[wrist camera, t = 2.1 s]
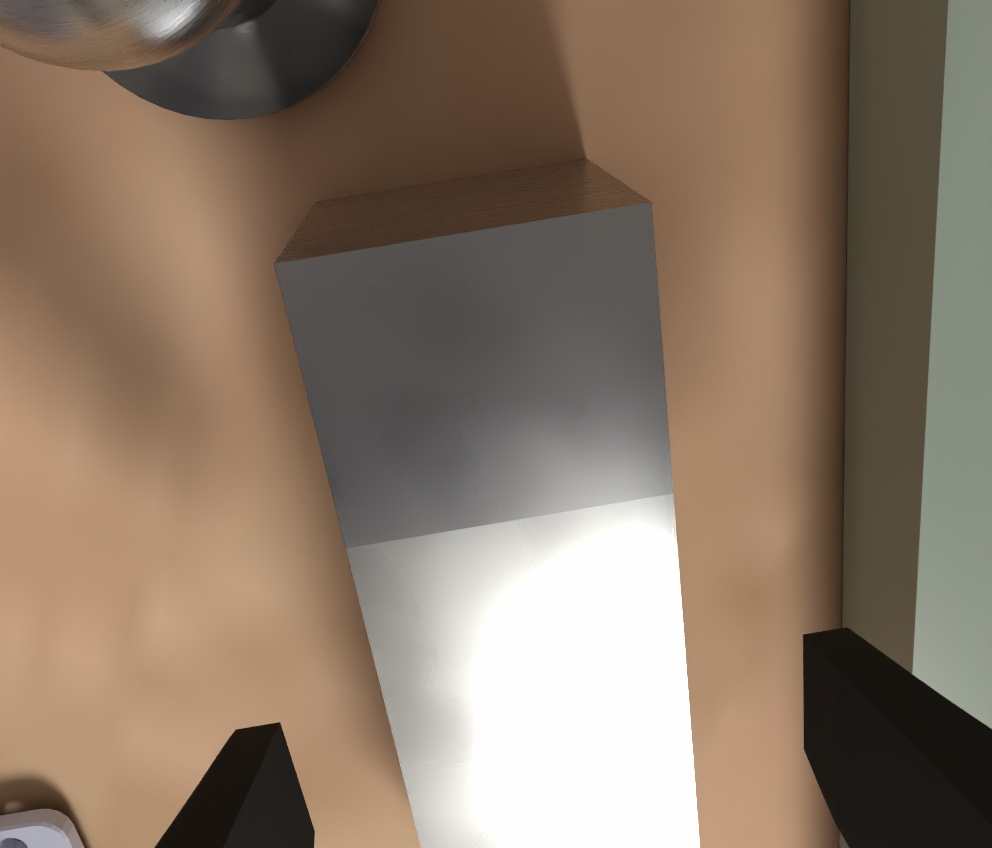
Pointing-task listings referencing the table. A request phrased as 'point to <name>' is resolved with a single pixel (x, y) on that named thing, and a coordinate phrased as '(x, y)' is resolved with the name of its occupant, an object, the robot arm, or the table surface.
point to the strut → (506, 498)
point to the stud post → (196, 47)
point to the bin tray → (920, 343)
